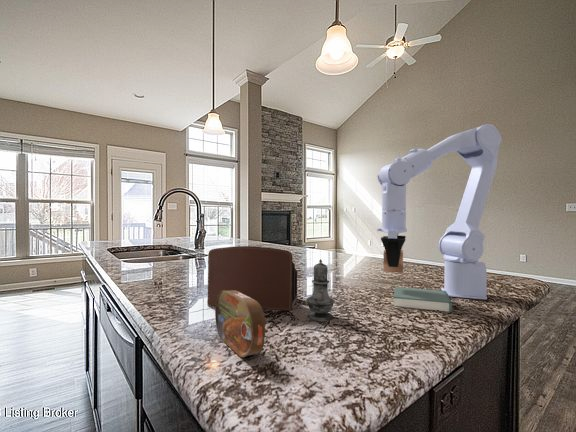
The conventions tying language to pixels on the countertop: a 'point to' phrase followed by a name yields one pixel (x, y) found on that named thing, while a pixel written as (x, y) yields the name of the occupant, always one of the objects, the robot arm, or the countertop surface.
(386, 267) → the block
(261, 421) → the countertop surface
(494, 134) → the robot arm
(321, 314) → the salt shaker
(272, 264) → the letter holder
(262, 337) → the tin
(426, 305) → the book
